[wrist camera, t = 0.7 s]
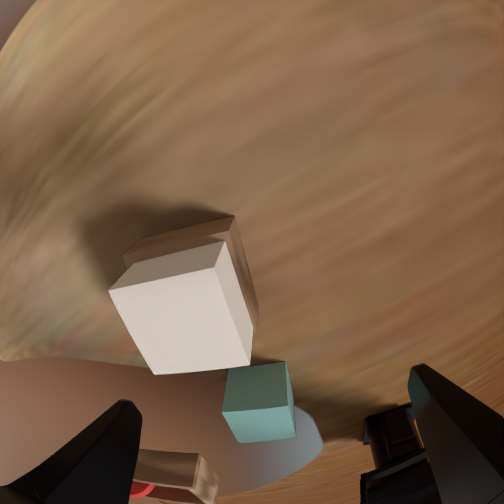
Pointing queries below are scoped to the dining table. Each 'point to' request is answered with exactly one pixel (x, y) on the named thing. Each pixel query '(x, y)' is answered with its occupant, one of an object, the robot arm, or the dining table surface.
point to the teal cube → (259, 403)
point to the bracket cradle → (177, 477)
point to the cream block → (186, 311)
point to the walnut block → (197, 238)
